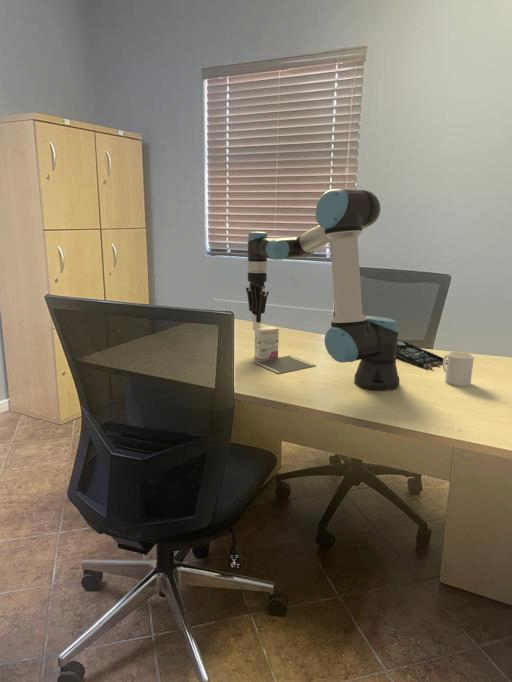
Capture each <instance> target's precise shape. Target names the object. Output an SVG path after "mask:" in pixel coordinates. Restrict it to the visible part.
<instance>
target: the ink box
mask: <svg viewBox="0 0 512 682" xmlns="http://www.w3.org/2000/svg"><path fill="white" fill-rule="evenodd" d="M279 331H280V330H279V329H278V328H277V327H274V326H267V327H260V328H256V329H255V330H254V357H255V358H256V359H258V360H267V359H274V358H279V336H280V335H279V334H280V333H279Z"/></svg>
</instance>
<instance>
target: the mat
mask: <svg viewBox="0 0 512 682" xmlns="http://www.w3.org/2000/svg"><path fill="white" fill-rule="evenodd" d="M252 363H253V364H255V365H258V366H259V367H262V368H264V369H265V370H267V371H270V372H273V373H274V374H276V375H281V374H285V373H289V372H290V373H291V372H295V371H299V370H304V369H305V370H306V369H310V368H314V367H316V366H317V365H316V364H313V363H310V362H309V361H306V360H303V359H301V358H298V357H295V356H292V355H286V356H280V357H279V356H278V357H273V358H268V359H262V360H259V361H254V362H252Z"/></svg>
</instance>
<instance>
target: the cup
mask: <svg viewBox="0 0 512 682" xmlns="http://www.w3.org/2000/svg"><path fill="white" fill-rule="evenodd" d="M443 358H444V359H443V364H442V370H443V372H444V373H445V378H444V379H445V383H446V384H448V385H450V386H455V387H460V388H461V387H468V386H470V385H471V382H472V374H473V366H474V359H475V356H474V354H472V353H470V352H463V351H450V352H448V353H446V354H444V357H443ZM446 360H447V365H446Z"/></svg>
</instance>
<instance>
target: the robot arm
mask: <svg viewBox="0 0 512 682" xmlns="http://www.w3.org/2000/svg"><path fill="white" fill-rule="evenodd" d="M380 214H381V202H380V201H379V199H378V197H377V196H376V195H375V194H374V193H373V192H371V191H369V190H365V189H345V188H337V189H330V190H327V191H325V192H324V193H323V194H322V195H321V196H320V198H319V200H318V201H317V204H316V207H315V220H316V222H317V224H318V225H316V226H315V227H313V228H311V229H309V230H308V231H306V232H304V233H302V234H301V235H298V236H297V237H286V238H283V237H282V238H281V237H280V238H278V237H277V238H273V237H271V238H270V237H269V238H268V233H267V232H265V231H250V232H249V233H248V235H247V236H248V237H247V271H248V272H247V282H249V286H247V287H245V291H246V294H247V301H248V311H249V312H251V314H252V331H255V329H256V328H261V323H262V315H263V314H265V311H266V307H267V306H266V305H267V299H268V296H269V293H270V292H269V290H266V286H265V283H266V282H267V280H268V278H267V277H268V275H267V271H268V266H267V264H268V259H270V260H275V261H276V260H278V261H279V260H280V261H281V260H284V259H292V258H306V257H311V256H312V255H313V254H314V252H315V251H316V250H318V249H320V248H322V247H325V246H326V245H328V244H329V245H330V259H331V271H332V272H331V273H332V275H331V276H332V287H333V303H334V317H333V318H332V319H331V320H330V328H329V329H327V330H326V333H325V335H324V346H325V349H326V352H327V353H328V355H329V356H331V359H332V360H334V361H336V362H338V363H343V364H345V363H353V362H355V361H359V360H360V362H359V364H358V366H357V370H356V372H355V374H354V380H353V382H354V383H355V384H356V386H358V387H361V388H363V389H366V390H371V391H372V390H373V391H392V390H395V389H397V388H399V386H400V377H399V373H398V369H397V364H396V363H397V362H396V361H397V360H396V359H397V356H396V353H397V342H399V333H400V332H399V323H398V321H397V320H394V319H392V318H388V317H381V316H375V315H373V316H372V315H365V314H363V305H362V287H361V285H362V284H361V271H360V259H359V258H360V253H359V241H358V239H359V236H360V235H361V234H362V232H363V230H364V229H367V228H368V227H370V226H372V225H373V224H375V223H376V222H377V220H378V219H379V216H380Z"/></svg>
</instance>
